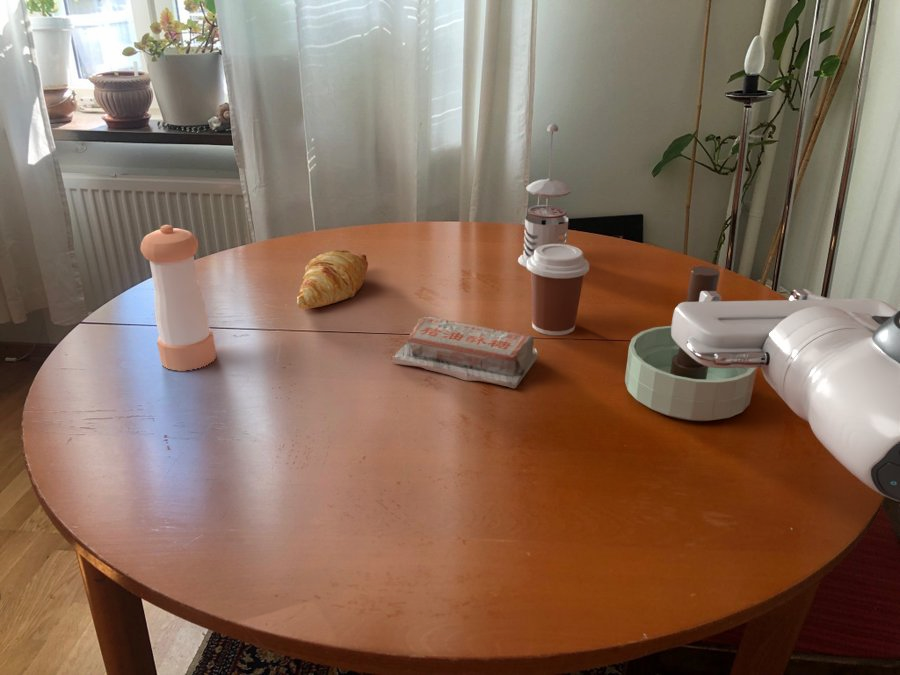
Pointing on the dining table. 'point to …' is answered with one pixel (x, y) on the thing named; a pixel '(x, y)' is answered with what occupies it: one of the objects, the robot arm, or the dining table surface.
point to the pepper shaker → (178, 300)
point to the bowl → (683, 381)
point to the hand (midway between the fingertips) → (751, 296)
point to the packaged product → (468, 351)
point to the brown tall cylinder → (699, 281)
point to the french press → (545, 214)
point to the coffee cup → (556, 287)
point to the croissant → (332, 278)
